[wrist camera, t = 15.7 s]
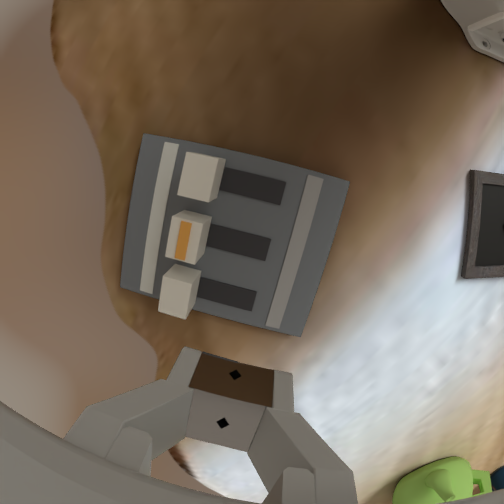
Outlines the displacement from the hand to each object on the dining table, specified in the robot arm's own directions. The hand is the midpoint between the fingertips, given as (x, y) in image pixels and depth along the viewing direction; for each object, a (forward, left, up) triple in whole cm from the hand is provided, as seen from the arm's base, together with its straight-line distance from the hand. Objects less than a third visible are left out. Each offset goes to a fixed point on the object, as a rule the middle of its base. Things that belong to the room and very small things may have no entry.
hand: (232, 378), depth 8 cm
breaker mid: (+7, +3, -25) cm, 26 cm away
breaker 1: (+7, +9, -25) cm, 28 cm away
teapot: (-45, +40, -27) cm, 66 cm away
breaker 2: (+7, -3, -25) cm, 26 cm away
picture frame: (-32, -9, -28) cm, 44 cm away
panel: (+4, +3, -27) cm, 28 cm away
